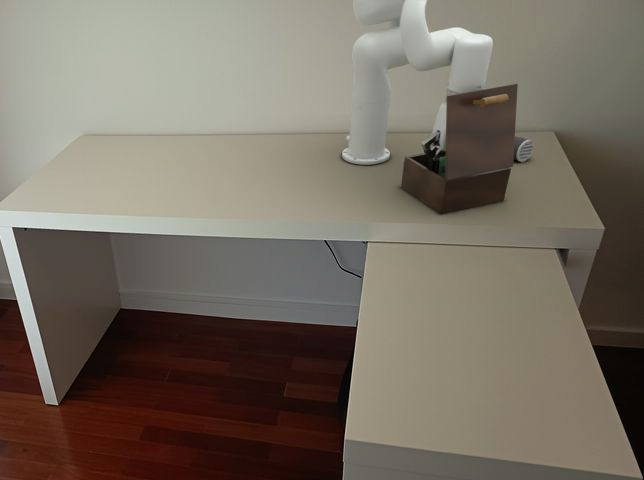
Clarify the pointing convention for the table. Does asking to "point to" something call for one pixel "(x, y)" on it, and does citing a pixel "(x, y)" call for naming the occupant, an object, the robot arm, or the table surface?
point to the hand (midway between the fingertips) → (450, 171)
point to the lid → (480, 131)
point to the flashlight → (522, 148)
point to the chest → (452, 186)
